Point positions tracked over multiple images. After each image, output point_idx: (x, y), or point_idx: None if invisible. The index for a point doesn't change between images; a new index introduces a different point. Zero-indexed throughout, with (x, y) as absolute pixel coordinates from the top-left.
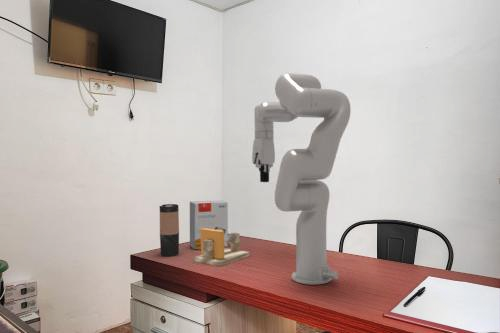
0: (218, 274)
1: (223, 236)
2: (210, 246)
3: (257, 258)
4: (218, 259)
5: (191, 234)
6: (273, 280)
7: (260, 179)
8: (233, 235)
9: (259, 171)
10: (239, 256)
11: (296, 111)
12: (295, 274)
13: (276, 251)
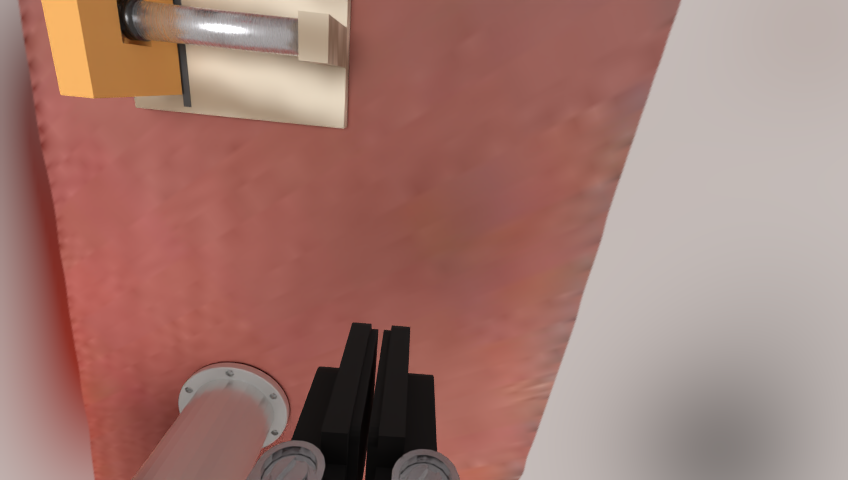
0: (77, 161)
1: (111, 96)
2: None
3: (332, 175)
4: None
5: None
6: (158, 333)
7: (346, 343)
8: (288, 46)
9: (266, 454)
10: (271, 120)
11: None
12: (209, 378)
13: (470, 190)
